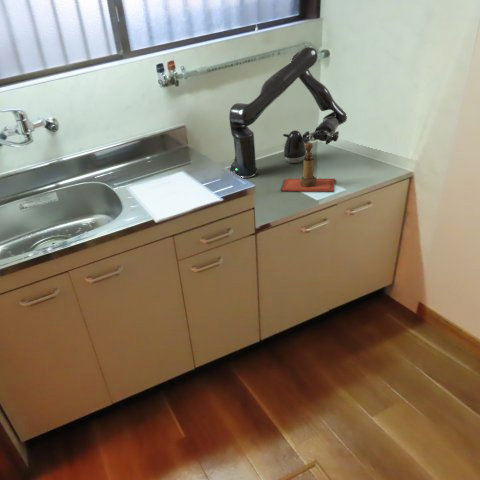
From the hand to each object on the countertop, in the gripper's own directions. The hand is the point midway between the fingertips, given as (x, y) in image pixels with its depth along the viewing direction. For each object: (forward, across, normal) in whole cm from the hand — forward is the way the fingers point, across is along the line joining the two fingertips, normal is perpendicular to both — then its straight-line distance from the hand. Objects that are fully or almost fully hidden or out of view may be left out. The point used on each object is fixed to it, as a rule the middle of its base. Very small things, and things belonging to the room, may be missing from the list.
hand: (316, 141), depth 170 cm
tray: (+11, 0, +15) cm, 19 cm away
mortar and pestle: (+11, 0, +15) cm, 18 cm away
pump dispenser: (-15, -14, +15) cm, 26 cm away
